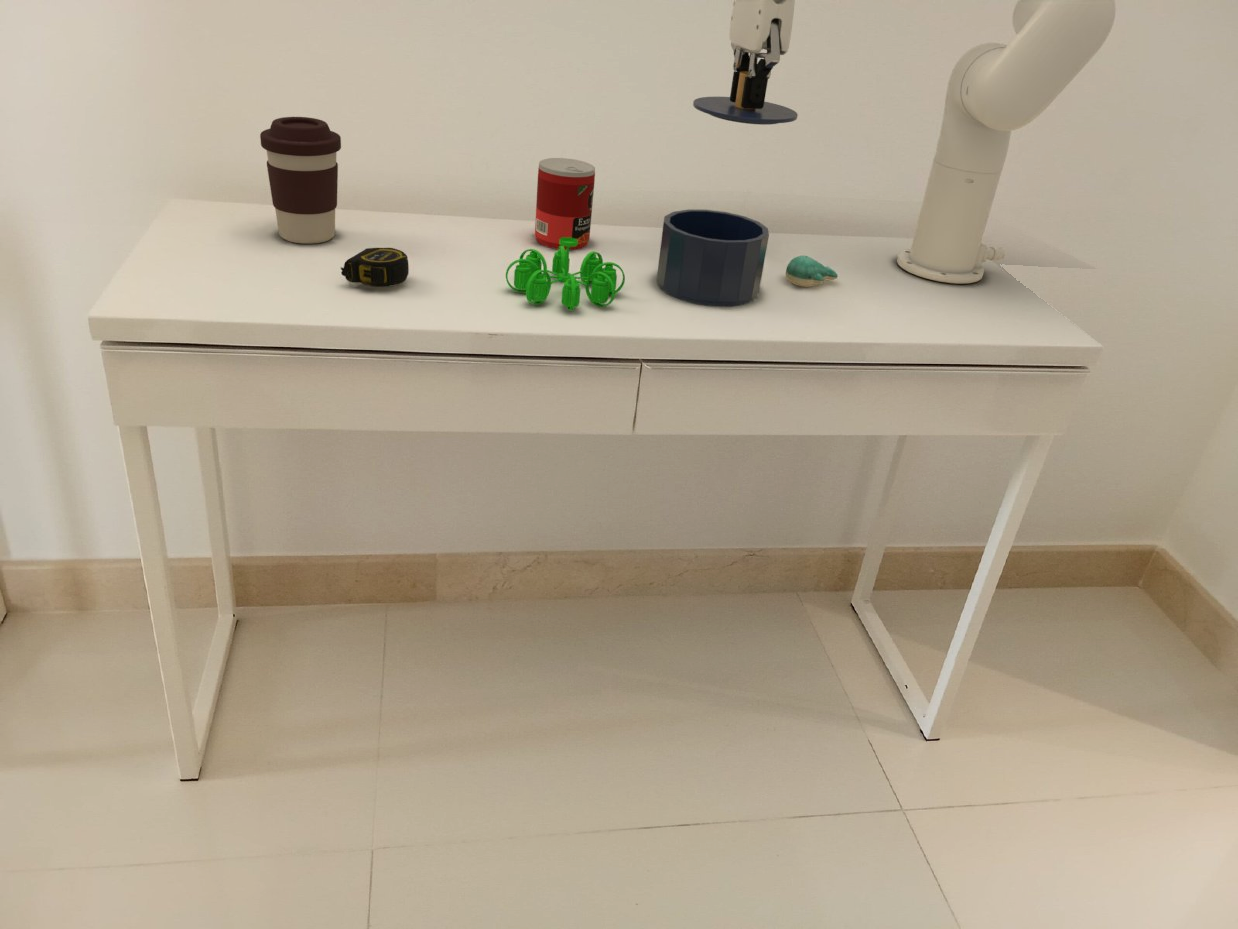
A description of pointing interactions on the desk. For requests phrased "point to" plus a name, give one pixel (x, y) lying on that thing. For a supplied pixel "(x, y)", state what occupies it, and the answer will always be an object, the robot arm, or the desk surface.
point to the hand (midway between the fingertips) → (746, 103)
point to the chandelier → (565, 276)
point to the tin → (711, 257)
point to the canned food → (564, 201)
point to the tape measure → (377, 267)
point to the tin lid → (737, 113)
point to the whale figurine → (808, 272)
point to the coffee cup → (303, 177)
